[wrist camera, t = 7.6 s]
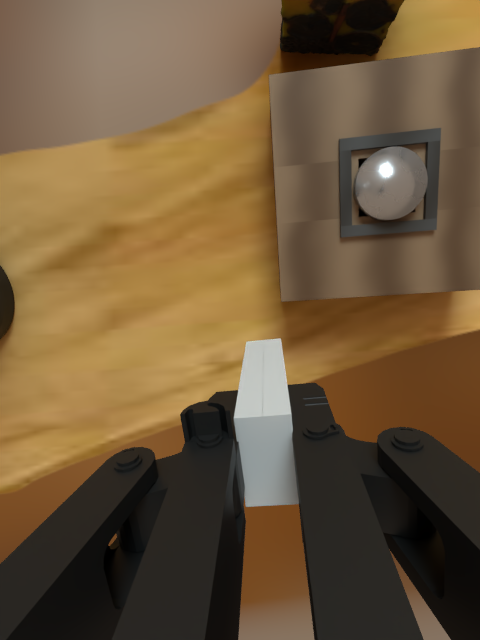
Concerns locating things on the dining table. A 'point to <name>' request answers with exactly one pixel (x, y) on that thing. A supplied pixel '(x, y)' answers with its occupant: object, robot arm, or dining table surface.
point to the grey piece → (390, 183)
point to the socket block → (348, 155)
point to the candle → (336, 25)
